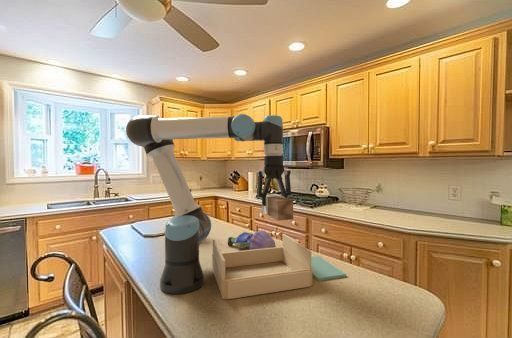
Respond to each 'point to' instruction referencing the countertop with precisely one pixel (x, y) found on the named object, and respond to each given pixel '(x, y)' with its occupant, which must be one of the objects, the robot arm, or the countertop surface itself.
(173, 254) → the robot arm
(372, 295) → the countertop surface
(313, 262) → the teal board
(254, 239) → the toy
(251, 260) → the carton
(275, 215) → the box
